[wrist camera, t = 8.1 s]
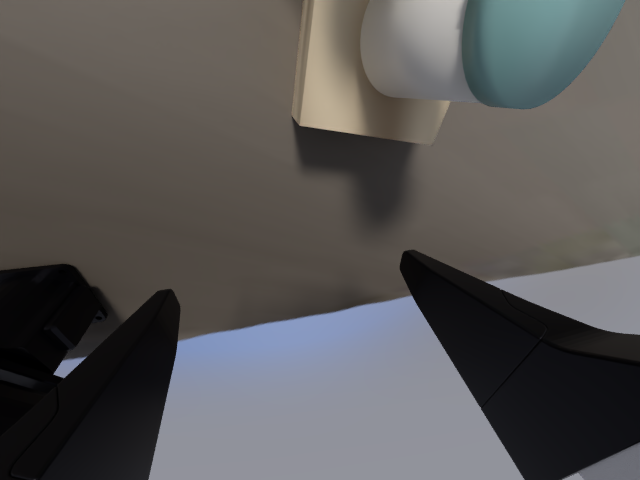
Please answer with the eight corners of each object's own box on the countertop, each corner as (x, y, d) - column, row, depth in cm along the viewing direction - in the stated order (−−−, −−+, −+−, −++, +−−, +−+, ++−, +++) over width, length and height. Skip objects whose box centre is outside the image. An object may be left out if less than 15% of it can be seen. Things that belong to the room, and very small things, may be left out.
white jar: (348, 89, 12) (462, 92, 7) (375, -60, 10) (589, -241, 4) (424, 106, 14) (558, 120, 9) (462, -13, 12) (681, -96, 6)
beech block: (290, 114, 17) (299, 125, 14) (310, -86, 12) (330, -141, 9) (402, 132, 19) (432, 145, 16) (456, -27, 15) (513, -53, 11)
